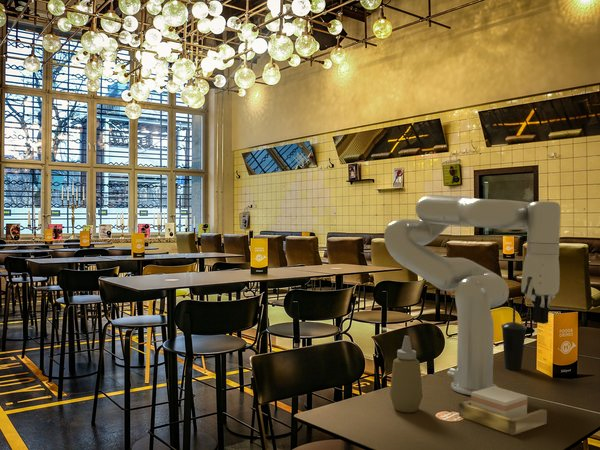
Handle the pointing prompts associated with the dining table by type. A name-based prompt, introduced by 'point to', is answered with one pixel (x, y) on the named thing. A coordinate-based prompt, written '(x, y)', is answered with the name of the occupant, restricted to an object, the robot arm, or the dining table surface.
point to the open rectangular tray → (503, 419)
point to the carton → (500, 401)
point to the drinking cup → (513, 343)
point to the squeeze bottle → (406, 379)
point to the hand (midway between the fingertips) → (540, 322)
